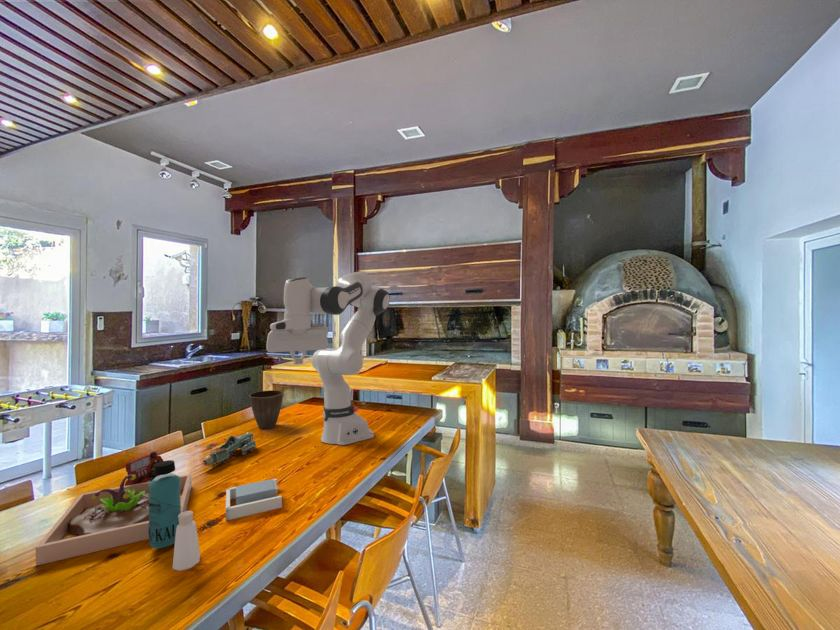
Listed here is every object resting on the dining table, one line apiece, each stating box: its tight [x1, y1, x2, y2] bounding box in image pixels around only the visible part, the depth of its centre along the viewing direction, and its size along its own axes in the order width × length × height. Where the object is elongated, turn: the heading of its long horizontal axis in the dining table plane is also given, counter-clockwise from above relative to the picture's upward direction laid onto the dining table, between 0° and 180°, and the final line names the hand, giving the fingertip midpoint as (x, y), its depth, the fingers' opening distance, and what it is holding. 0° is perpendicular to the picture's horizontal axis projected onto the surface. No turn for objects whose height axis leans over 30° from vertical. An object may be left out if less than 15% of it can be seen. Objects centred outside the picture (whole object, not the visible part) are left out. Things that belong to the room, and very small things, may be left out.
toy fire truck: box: [124, 451, 164, 486], centre depth 118 cm, size 7×12×10 cm, turn 167°
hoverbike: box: [202, 431, 257, 467], centre depth 141 cm, size 10×25×8 cm, turn 166°
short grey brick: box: [235, 478, 279, 506], centre depth 108 cm, size 11×7×4 cm, turn 117°
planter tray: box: [35, 473, 193, 567], centre depth 100 cm, size 27×27×4 cm
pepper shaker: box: [172, 510, 201, 572], centre depth 82 cm, size 5×5×11 cm
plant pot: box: [249, 389, 284, 430], centre depth 178 cm, size 15×15×16 cm
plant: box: [68, 474, 149, 536], centre depth 101 cm, size 20×20×11 cm
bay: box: [225, 478, 283, 522], centre depth 107 cm, size 14×13×3 cm
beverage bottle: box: [148, 459, 182, 549], centre depth 88 cm, size 6×7×20 cm
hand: (298, 364), depth 128 cm, fingers closed
